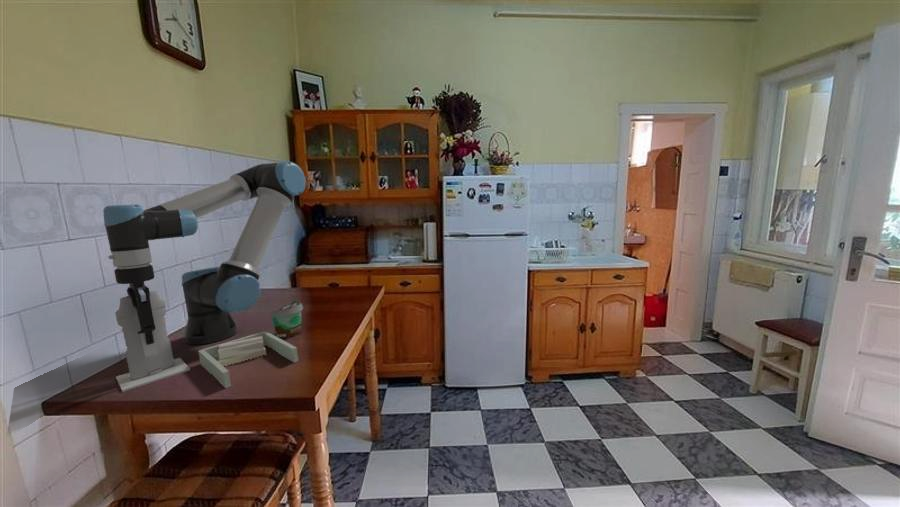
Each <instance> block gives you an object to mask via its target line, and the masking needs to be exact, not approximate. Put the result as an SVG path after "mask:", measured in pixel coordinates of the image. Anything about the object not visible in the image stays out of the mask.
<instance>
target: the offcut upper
mask: <svg viewBox="0 0 900 507" xmlns="http://www.w3.org/2000/svg"><path fill="white" fill-rule="evenodd" d="M225 343H226V342H225ZM220 344H221V345H219V344H218V345H219V349H218V354H219V360H220V359H225V358H229V357H234V356H238V355H243V354H248V353H252V352H257V351H262V350H264V347H265V345H263V338H262V336H261V337H256V338H251V339H246V340H241V341H236V342H231V343H226V344H222V343H220Z"/></svg>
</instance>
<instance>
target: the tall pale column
mask: <svg viewBox="0 0 900 507" xmlns="http://www.w3.org/2000/svg"><path fill="white" fill-rule="evenodd" d="M149 292H150V302H151V308H152V314H153V319H154V324H155V327H156V328H155V330H154V331H155V337H156V342H157V347H158V353H159V354H156V355H152V356H149V357H145V354H144V349H143V344H142V338H141V334H138V332H139V331H141V327H140V323H139V319H138V314H137V310H136V307H134V306H133V304H132V299H131V297H130V296H129V295H127V296H123V297H120V298H119V307H118V309H117V310H116V311H115V312H114V314H115V319H116V322H117V325H118V326H119V327H121V331H122V333H123V334H122V335H123V339H124V344H125V346H126V350H125V351H126V352H125V356H126V362H127V367H128V373H129V372H130V377H131V380H137V379H140V378H143V377H146V376H149V375H153V374H157V373H159V372H161V371H162V370H165V369H167V368H170V367H172V366H174V355H173V349H172V344H171V340H170V338H169V337H168V331H167V324H166V322H167V321H166V317H165V315H166V314H167V308H166V301H165V300H163V299H161V297H160V296H159V294H158V291H157V290H152V291H150V290H149Z"/></svg>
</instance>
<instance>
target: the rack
mask: <svg viewBox="0 0 900 507" xmlns="http://www.w3.org/2000/svg"><path fill="white" fill-rule="evenodd" d="M261 336H262V338H263V346H266V345H267V346H268V347H267V346H266V347H267V348H269V347H270V348H272V349H273V350H272V349H271V350H272V351H274V350H275V351H276V352H275V351H274V352H275V353H277V352H278V353H277V354H279V355H280V356H282V357H283V358H285V359H287V360H289V361H290V362H292V363H294V364H295V363H297V362H299V356H298V355H299V354H298V348H297V347H296V346H294V345H293V344H291V343H289V342H287V341H285V339H280V338H278V337H277V336H276V335H275V334H272V333H270V332H269V331H267V330H264V331H261V332H256V333H253V334H250V335H247V336H244V337H240V338H237V339H236V338H235V339H234V340H230V341H226V342H224V343H219V344H215V345H212V346H209V347H206V348H202V349H199V350H198V357H199V362H200V365H201V366H202V367H203V368H204V369H205V370H206V371H207V372H208V373H209V374H210V375H211V374H212V375H213V376H214V377H215V378H216V379H217V380H218V381H219V382H218V381H217V380H216V379H215V378H214V377H213V376H212V375H211V376H212V377H213V378H214V379H215V380H216V381H217V382H218V383H219V384H221V385H222V386H223V387H224V389H228V388H231V387H232V383H231V376H230V371H229V370H228V369H227V368H226V366H225V367H223V366H222V365H221V364H220V363H219V362H218V361H216V358H215V355H216V354H218V349H219V345H221V344H226V343H231V342H236V341H241V340H246V339H251V338H256V337H261ZM264 344H265V345H264ZM270 348H269V349H270Z"/></svg>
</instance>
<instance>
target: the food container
mask: <svg viewBox="0 0 900 507" xmlns="http://www.w3.org/2000/svg"><path fill="white" fill-rule="evenodd" d="M302 310H304V306H303V304H302V303H301V301H300V300H296V299H295V300H294V299H293V300H292V303H290V304H288V305H284V306H282V307H281V308H279V309H275V310H271V313H270V317H271V318H272V321H273V326H274V331H275V336H276V337H278V338H280V339H282V340H284V339H283V338H287V339H289V338H288V337H291V338H293V337H292V336H295V335H297V336H299V335H300V334H301V333H302V332H303V331H302V329H303V327H302ZM301 331H302V332H301ZM299 333H300V334H299ZM298 334H299V335H298ZM295 337H296V336H295Z"/></svg>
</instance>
